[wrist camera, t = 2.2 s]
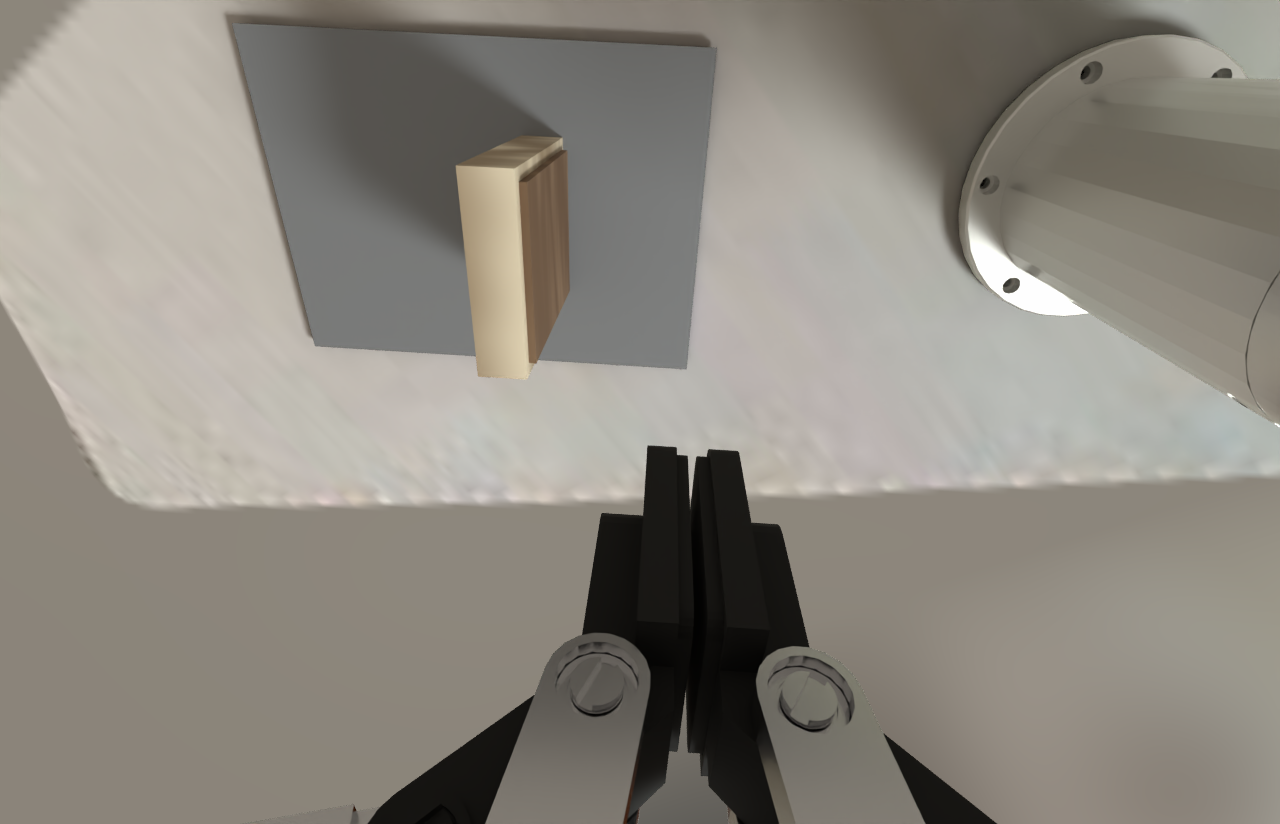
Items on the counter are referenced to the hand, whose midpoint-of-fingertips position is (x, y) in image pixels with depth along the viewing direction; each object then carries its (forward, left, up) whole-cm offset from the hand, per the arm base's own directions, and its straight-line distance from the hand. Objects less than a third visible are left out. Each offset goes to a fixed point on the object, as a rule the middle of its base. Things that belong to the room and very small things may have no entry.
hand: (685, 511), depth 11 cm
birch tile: (+7, 0, -22) cm, 23 cm away
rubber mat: (+10, 0, -23) cm, 25 cm away
